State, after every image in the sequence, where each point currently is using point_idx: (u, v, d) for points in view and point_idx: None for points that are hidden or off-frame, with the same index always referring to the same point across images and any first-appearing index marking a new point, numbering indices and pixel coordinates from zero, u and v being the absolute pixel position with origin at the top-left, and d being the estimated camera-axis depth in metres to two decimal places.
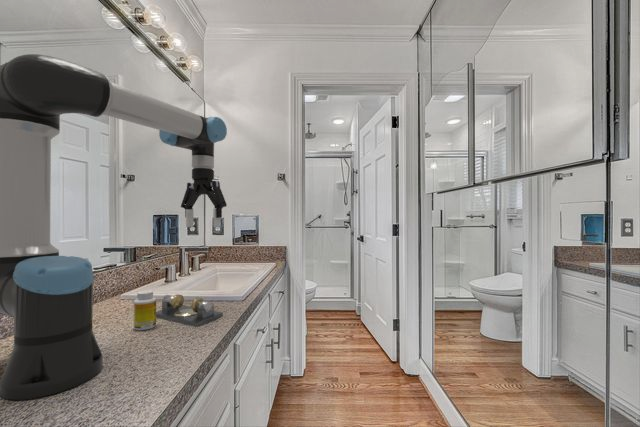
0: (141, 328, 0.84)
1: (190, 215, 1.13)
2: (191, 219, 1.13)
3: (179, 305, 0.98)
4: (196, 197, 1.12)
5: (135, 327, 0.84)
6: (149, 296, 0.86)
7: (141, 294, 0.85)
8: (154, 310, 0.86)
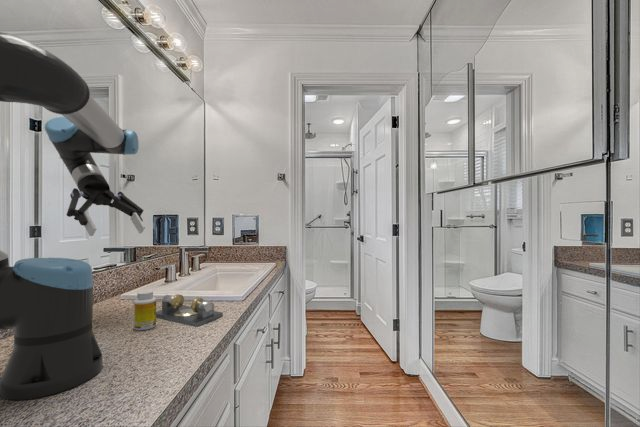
0: (141, 328, 0.84)
1: None
2: None
3: (179, 305, 0.98)
4: (89, 205, 0.88)
5: (135, 327, 0.84)
6: (149, 296, 0.86)
7: (141, 294, 0.85)
8: (154, 310, 0.86)
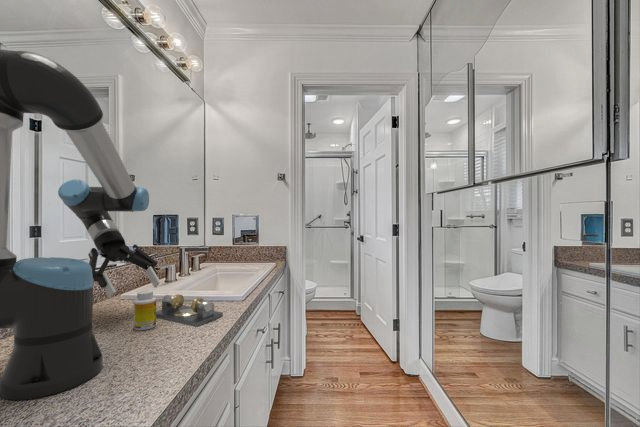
0: (141, 328, 0.84)
1: None
2: None
3: (179, 305, 0.98)
4: None
5: (135, 327, 0.84)
6: (149, 296, 0.86)
7: (141, 294, 0.85)
8: (154, 310, 0.86)
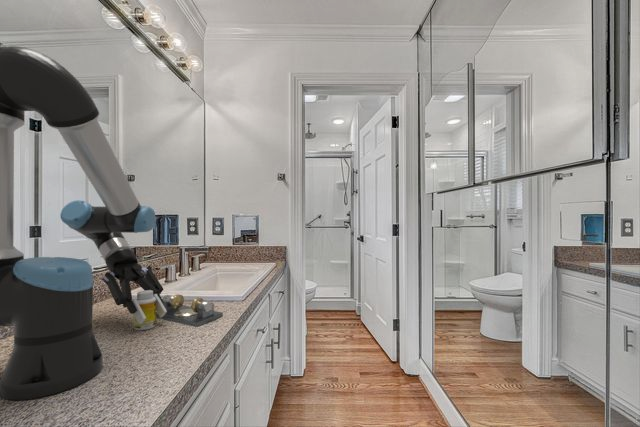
0: (141, 328, 0.84)
1: None
2: None
3: (179, 305, 0.98)
4: None
5: (135, 327, 0.84)
6: (149, 296, 0.86)
7: (141, 294, 0.85)
8: (154, 310, 0.86)
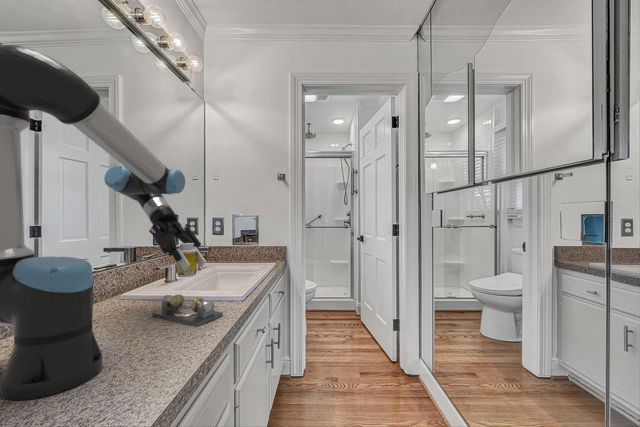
0: (184, 275, 0.93)
1: None
2: None
3: (179, 305, 0.98)
4: None
5: (179, 274, 0.94)
6: (191, 247, 0.95)
7: (184, 244, 0.94)
8: (195, 260, 0.96)
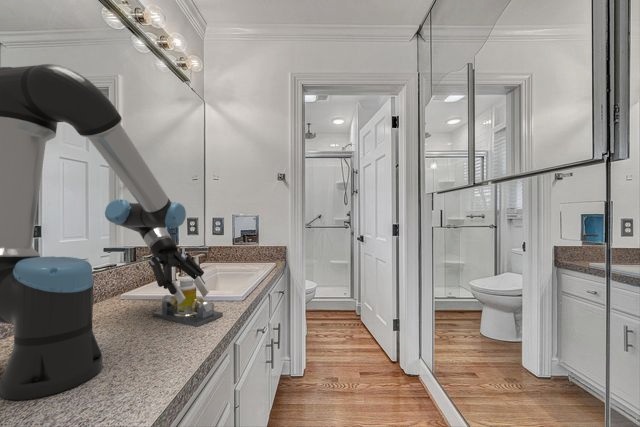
0: (184, 312, 0.93)
1: None
2: None
3: None
4: None
5: (179, 311, 0.93)
6: (190, 283, 0.95)
7: (184, 281, 0.94)
8: (195, 296, 0.96)
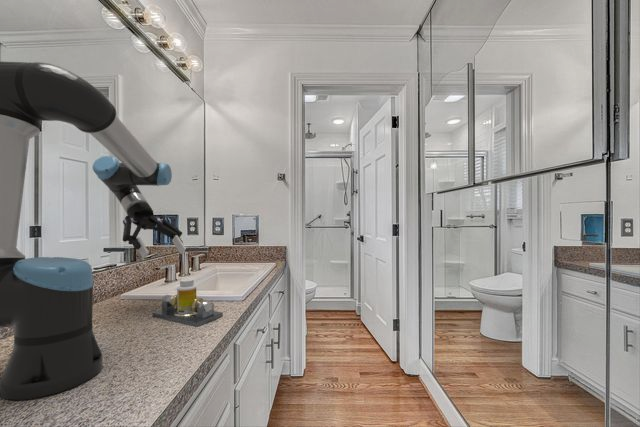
0: (184, 312, 0.93)
1: None
2: None
3: None
4: None
5: (179, 311, 0.93)
6: (191, 283, 0.95)
7: (184, 281, 0.94)
8: (195, 296, 0.96)
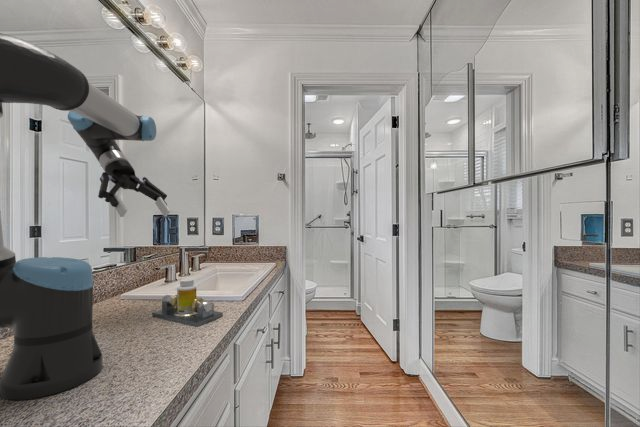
0: (185, 312, 0.93)
1: None
2: None
3: None
4: (118, 189, 0.91)
5: (179, 311, 0.93)
6: (191, 283, 0.95)
7: (184, 281, 0.94)
8: (195, 296, 0.96)
